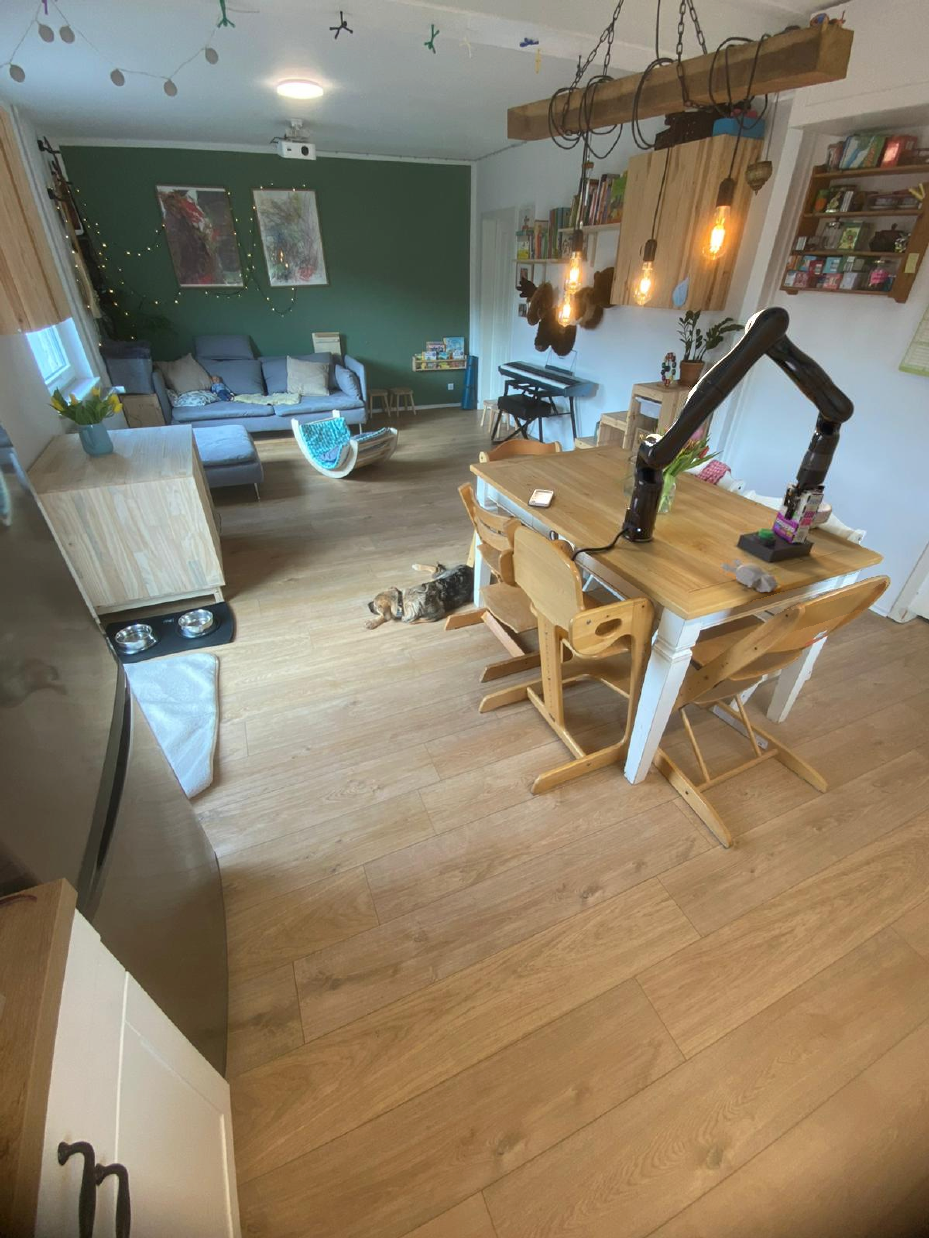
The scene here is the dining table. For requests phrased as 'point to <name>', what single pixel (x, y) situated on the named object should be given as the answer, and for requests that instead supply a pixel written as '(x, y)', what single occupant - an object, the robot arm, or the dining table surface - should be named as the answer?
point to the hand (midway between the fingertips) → (794, 517)
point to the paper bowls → (822, 514)
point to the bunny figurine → (752, 576)
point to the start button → (766, 533)
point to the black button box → (773, 547)
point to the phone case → (541, 498)
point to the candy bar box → (798, 516)
